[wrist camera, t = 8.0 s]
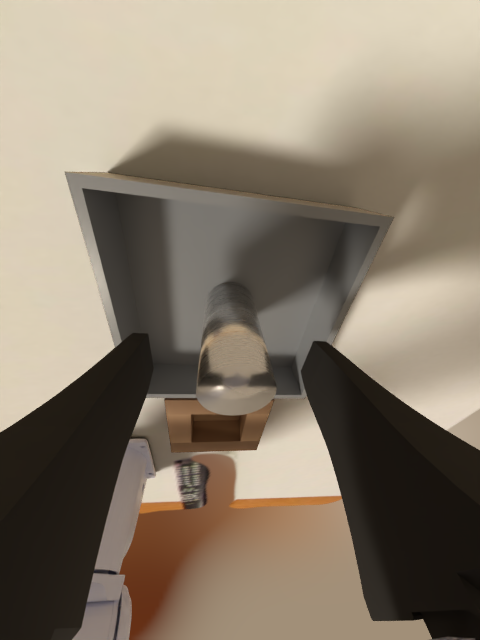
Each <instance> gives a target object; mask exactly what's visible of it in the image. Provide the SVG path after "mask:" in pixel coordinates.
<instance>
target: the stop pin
mask: <svg viewBox="0 0 480 640" xmlns="http://www.w3.org/2000/svg"><path fill="white" fill-rule="evenodd" d="M276 390H277V385H276V381H275V377H274V374H273V370H272V366H271V363H270V359H269V355H268V352H267V348H266V344H265V340H264V337H263V333H262V329H261V326H260V322H259V318H258V315H257V311H256V307H255V304H254V300H253V297H252V294H251V292H250V291H249V290H248V289H247V288H246V287H245V286H243V285H241V284H239V283H234V282H226V283H222V284H219V285H217V286H215V287H214V288H213V289H212V290H211V291H210V292H209V294H208V295H207V298H206V304H205V314H204V323H203V332H202V341H201V351H200V360H199V369H198V379H197V388H196V397H197V400H198V401H199V403H200V404H201V405H202V406H203V407H204V408H206V409H207V410H209V411H211V412H214V413H217V414H221V415H231V416H234V415H244V414H248V413H252V412H255V411H257V410H259V409H261V408H263V407H264V406H266V405H267V404H268V403H270V401H271V400H272V399H273V398H274V396H275V394H276Z"/></svg>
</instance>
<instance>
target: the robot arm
mask: <svg viewBox="0 0 480 640" xmlns="http://www.w3.org/2000/svg"><path fill="white" fill-rule="evenodd" d="M153 369H154V367H153V361H152V354H151V348H150V342H149V335H148V333H132V334H131V335H129V336H128V337H127V338H126V339H125V340H123V341H122V342H121V343H120V344H119V345H118V346H116V347H115V348H114V349H113V350H112V351H111V352H110V353H108V354H107V355H106V356H105V357H104V358H103V359H101V360H100V361H99V362H98V363H97V364H95V365H94V366H93V367H92V368H91V369H89V370H88V371H87V372H86V373H84V374H83V375H82V376H81V377H79V378H78V379H77V380H75V381H74V382H73V383H71V384H70V385H69V386H68V387H66V388H65V389H64V390H62V391H61V392H60V393H58V394H57V395H56V396H54V397H53V398H52V399H50V400H49V401H47V402H46V403H44V404H43V405H42V406H40V407H39V408H37V409H36V410H34V411H33V412H31V413H30V414H28V415H27V416H25V417H24V418H22V419H21V420H19V421H18V422H16V423H15V424H13V425H12V426H10V427H8V428H7V429H5V430H4V431H2V432H0V640H129V633H130V625H131V599H130V597H129V593H128V589H127V587H126V586H125V585H123V582H124V577H125V575H119V571H120V568H121V564H122V560H123V558H124V556H125V555H126V553H127V551H128V549H129V547H130V544H131V542H132V539H133V535H134V531H135V526H136V522H137V518H138V514H139V510H140V506H141V501H142V497H143V493H144V489H145V485H146V481H147V479H149V478H155V476H156V471H155V468H154V464H153V460H152V456H151V452H150V448H149V444H148V441H147V440H146V439H130V438H131V435H132V433H133V430H134V427H135V425H136V422H137V419H138V417H139V414H140V411H141V409H142V406H143V403H144V401H145V398H146V395H147V393H148V390H149V386H150V382H151V378H152V373H153ZM301 376H302V380H303V384H304V388H305V391H306V394H307V397H308V400H309V402H310V405H311V407H312V410H313V412H314V415H315V417H316V420H317V422H318V425H319V427H320V430H321V432H322V435H323V437H324V440H325V442H326V445H327V448H328V451H329V454H330V457H331V460H332V464H333V467H334V471H335V474H336V477H337V481H338V485H339V488H340V492H341V496H342V499H343V503H344V507H345V511H346V515H347V520H348V524H349V527H350V532H351V536H352V540H353V545H354V550H355V555H356V560H357V564H358V569H359V574H360V579H361V584H362V589H363V594H364V599H365V601H366V604H367V607H368V610H369V613H370V616H371V618H372V620H373V621H396V620H397V621H400V620H401V621H403V620H419V619H423V620H424V622H425V624H426V626H427V628H428V630H429V633H430V635H431V637H432V639H431V640H480V450H478V449H476V448H475V447H473V446H471V445H469V444H468V443H466V442H464V441H462V440H461V439H459V438H458V437H456V436H454V435H453V434H451V433H449V432H448V431H446V430H445V429H443V428H441V427H440V426H438V425H437V424H435V423H433V422H432V421H430V420H429V419H427V418H426V417H424V416H423V415H421V414H420V413H418V412H417V411H415V410H414V409H412V408H411V407H409V406H408V405H407V404H405V403H404V402H402V401H401V400H400V399H398V398H397V397H395V396H394V395H393V394H391V393H390V392H389V391H387V390H386V389H385V388H383V387H382V386H381V385H379V384H378V383H377V382H376V381H374V380H373V379H372V378H371V377H369V376H368V375H367V374H366V373H364V372H363V371H362V370H361V369H359V368H358V367H357V366H356V365H355V364H353V363H352V362H351V361H350V360H349V359H347V358H346V357H345V356H344V355H343V354H341V353H340V352H339V351H338V350H336V349H335V348H334V347H333V346H331V345H330V344H329V343H327V342H326V341H313V343H312V345H311V348H310V350H309V352H308V355H307V357H306V360H305V362H304V364H303V367H302V369H301Z"/></svg>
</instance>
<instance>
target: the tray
mask: <svg viewBox="0 0 480 640" xmlns="http://www.w3.org/2000/svg"><path fill="white" fill-rule="evenodd" d="M65 175H66V178H67V182H68V185H69V189H70V192H71V196H72V199H73V203H74V206H75V210H76V213H77V217H78V220H79V224H80V227H81V231H82V234H83V238H84V241H85V244H86V248H87V251H88V255H89V258H90V262H91V265H92V269H93V272H94V276H95V279H96V283H97V286H98V290H99V293H100V297H101V300H102V304H103V307H104V311H105V314H106V318H107V321H108V325H109V328H110V331H111V335H112V338H113V342H114V345H115V347H116V346H118V345H119V344H120V343H121V342H122V341H123V340H125V339H126V338H127V337H128V336H129V335H131V334H132V333H148V335H149V342H150V348H151V354H152V361H153V367H154V369H153V373H152V378H151V382H150V386H149V390H148V393H147V395H146V398H197V397H196V388H197V379H198V369H199V360H200V351H201V341H202V332H203V323H204V314H205V304H206V298H207V295H208V294H209V292H210V291H211V290H212V289H213V288H214V287H215V286H217V285H219V284H222V283H226V282H234V283H239V284H241V285H243V286H245V287H246V288H247V289H248V290H249V291H250V292H251V294H252V297H253V300H254V304H255V307H256V311H257V315H258V318H259V322H260V326H261V329H262V333H263V337H264V340H265V344H266V348H267V352H268V355H269V359H270V363H271V366H272V370H273V374H274V377H275V381H276V385H277V390H276V394H275V396H274V398H294V399H305V398H306V396H307V394H306V391H305V388H304V384H303V380H302V376H301V369H302V367H303V364H304V362H305V360H306V357H307V355H308V352H309V350H310V348H311V345H312V343H313V341H326V342H327V343H329V344H330V345H332V343H333V341H334V339H335V337H336V335H337V333H338V331H339V329H340V326H341V324H342V322H343V320H344V318H345V316H346V314H347V312H348V310H349V308H350V306H351V304H352V302H353V300H354V298H355V296H356V294H357V292H358V290H359V288H360V286H361V284H362V282H363V280H364V278H365V276H366V274H367V272H368V270H369V267H370V265H371V263H372V261H373V259H374V257H375V255H376V253H377V251H378V249H379V247H380V245H381V243H382V241H383V239H384V237H385V235H386V233H387V231H388V229H389V227H390V225H391V223H392V221H393V219H394V217H391V216H387V215H383V214H379V213H375V212H371V211H367V210H363V209H358V208H354V207H347V206H340V205H333V204H326V203H319V202H312V201H305V200H297V199H290V198H283V197H276V196H269V195H262V194H255V193H248V192H241V191H234V190H226V189H219V188H212V187H205V186H198V185H191V184H184V183H177V182H170V181H163V180H156V179H148V178H141V177H134V176H127V175H120V174H113V173H105V172H65Z"/></svg>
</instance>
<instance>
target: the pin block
mask: <svg viewBox="0 0 480 640" xmlns="http://www.w3.org/2000/svg"><path fill="white" fill-rule="evenodd" d="M273 402H274V399H272V400H271V401H270V403H268V404H267V405H266V406H264V407H263V408H261V409H259V410H257V411H255V412H252V413H248V414H244V415H234V416H231V415H221V414H217V413H214V412H211V411H209V410H207V409H206V408H204V407H203V406H202V405H201V404H200V403H199V401H198V400H197V398H165V407H166V415H167V422H168V430H169V437H170V445H171V452H206V451H240V450H257V447H258V444H259V441H260V438H261V436H262V433H263V430H264V427H265V424H266V422H267V419H268V416H269V413H270V410H271V408H272V405H273Z"/></svg>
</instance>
